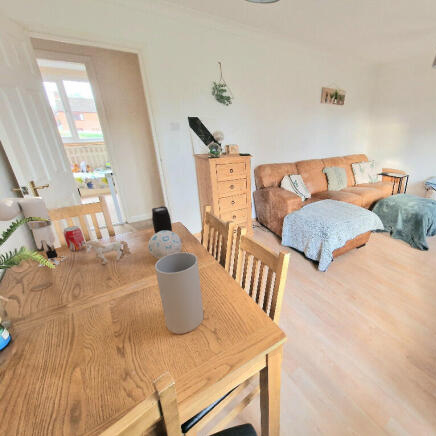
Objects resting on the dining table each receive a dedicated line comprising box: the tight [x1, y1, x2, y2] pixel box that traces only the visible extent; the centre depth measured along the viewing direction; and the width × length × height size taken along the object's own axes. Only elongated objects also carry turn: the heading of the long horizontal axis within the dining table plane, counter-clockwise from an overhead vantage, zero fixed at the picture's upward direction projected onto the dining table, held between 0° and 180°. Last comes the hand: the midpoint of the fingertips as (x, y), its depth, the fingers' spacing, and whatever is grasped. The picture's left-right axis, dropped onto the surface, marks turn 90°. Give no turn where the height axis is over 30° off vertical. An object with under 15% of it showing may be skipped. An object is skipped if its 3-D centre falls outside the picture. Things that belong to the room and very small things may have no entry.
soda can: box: [62, 225, 86, 252], centre depth 125 cm, size 7×7×12 cm
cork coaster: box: [30, 280, 52, 292], centre depth 99 cm, size 6×6×1 cm
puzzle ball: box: [147, 230, 183, 260], centre depth 121 cm, size 15×15×15 cm
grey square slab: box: [37, 255, 68, 268], centre depth 116 cm, size 8×8×2 cm
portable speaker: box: [151, 206, 173, 234], centre depth 139 cm, size 9×9×20 cm
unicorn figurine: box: [79, 239, 132, 265], centre depth 115 cm, size 7×20×13 cm, turn 142°
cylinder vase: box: [154, 251, 205, 335], centre depth 82 cm, size 12×12×25 cm
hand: (52, 257), depth 117 cm, fingers closed
